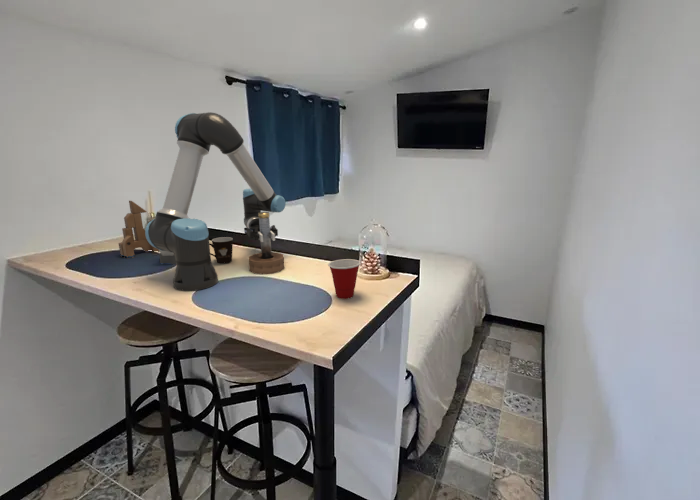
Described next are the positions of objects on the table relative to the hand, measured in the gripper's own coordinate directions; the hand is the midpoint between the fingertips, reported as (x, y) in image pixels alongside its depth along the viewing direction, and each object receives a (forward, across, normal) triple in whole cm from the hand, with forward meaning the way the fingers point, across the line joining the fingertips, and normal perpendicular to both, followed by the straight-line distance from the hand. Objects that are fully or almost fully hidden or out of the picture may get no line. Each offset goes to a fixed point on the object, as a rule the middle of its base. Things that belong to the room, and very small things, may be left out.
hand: (268, 238), depth 143 cm
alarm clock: (-34, +35, -14) cm, 51 cm away
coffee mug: (-23, +17, -14) cm, 32 cm away
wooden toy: (-50, +50, -14) cm, 72 cm away
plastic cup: (+34, -18, -14) cm, 41 cm away
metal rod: (-5, 0, -11) cm, 12 cm away
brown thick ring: (-5, 0, -14) cm, 15 cm away
